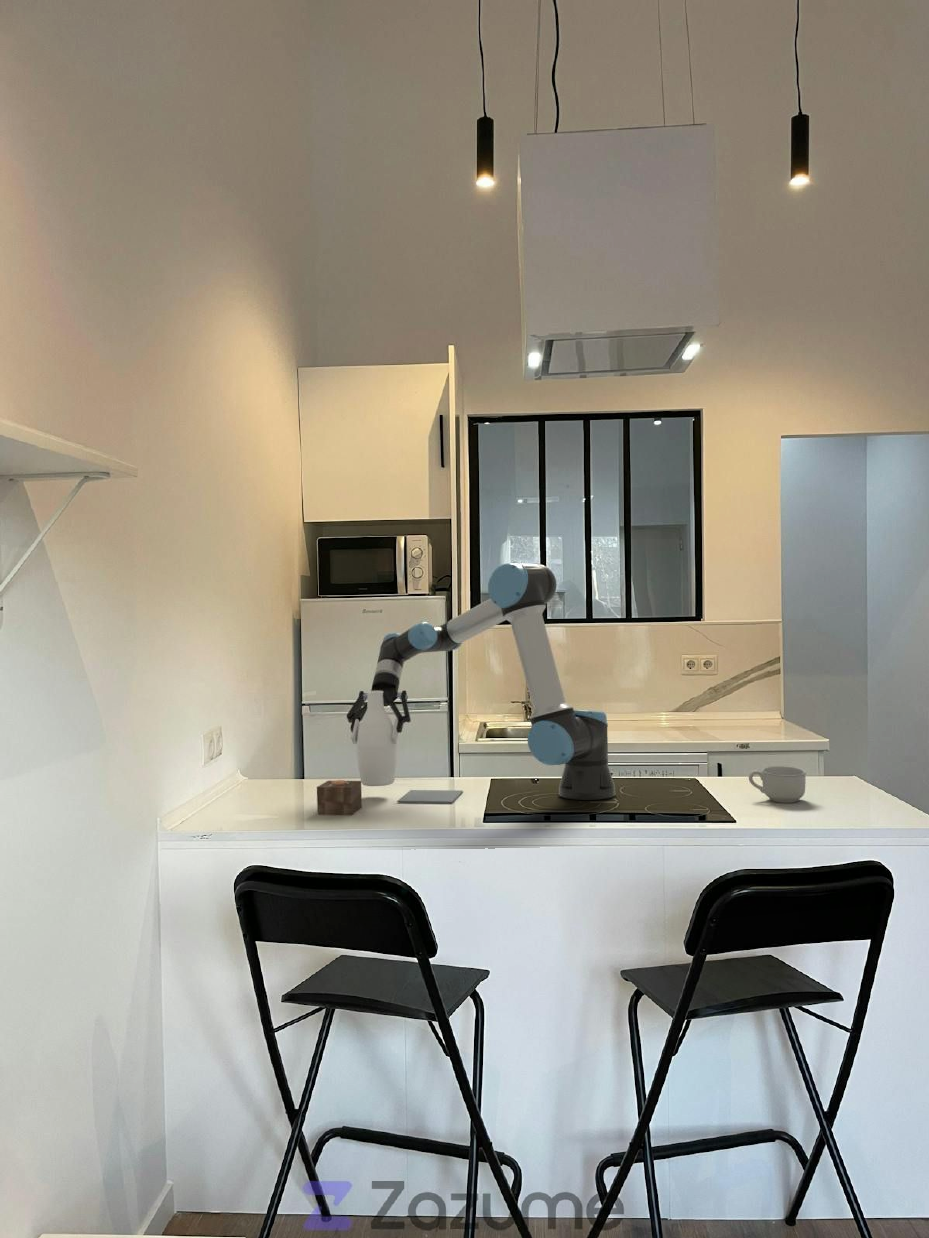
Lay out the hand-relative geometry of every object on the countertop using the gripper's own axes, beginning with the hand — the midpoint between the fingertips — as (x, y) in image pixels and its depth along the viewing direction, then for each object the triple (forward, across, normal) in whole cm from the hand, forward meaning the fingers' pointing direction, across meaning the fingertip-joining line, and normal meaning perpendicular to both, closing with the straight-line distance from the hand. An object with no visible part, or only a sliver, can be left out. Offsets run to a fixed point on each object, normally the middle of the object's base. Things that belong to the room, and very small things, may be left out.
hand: (373, 740), depth 261 cm
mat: (+9, -15, -13) cm, 22 cm away
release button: (+21, +5, +1) cm, 21 cm away
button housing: (+22, +5, -1) cm, 22 cm away
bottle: (+7, 0, -11) cm, 13 cm away
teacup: (+8, -106, -15) cm, 107 cm away
